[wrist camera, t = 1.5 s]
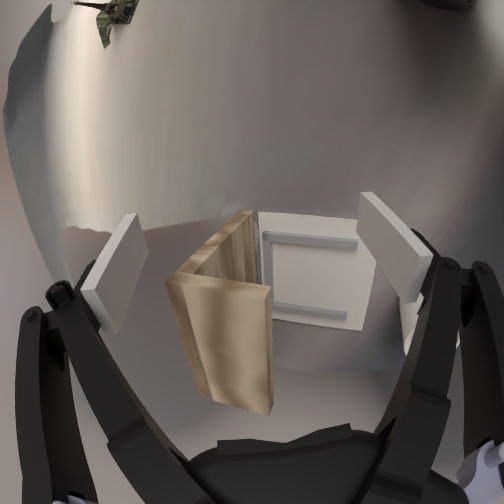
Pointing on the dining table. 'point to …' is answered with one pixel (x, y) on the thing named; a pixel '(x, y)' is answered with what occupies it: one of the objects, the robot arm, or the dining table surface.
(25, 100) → the dining table surface
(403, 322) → the mug
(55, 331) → the robot arm
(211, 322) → the overhang shelf
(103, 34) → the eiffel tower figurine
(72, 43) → the dining table surface
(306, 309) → the seat plate
